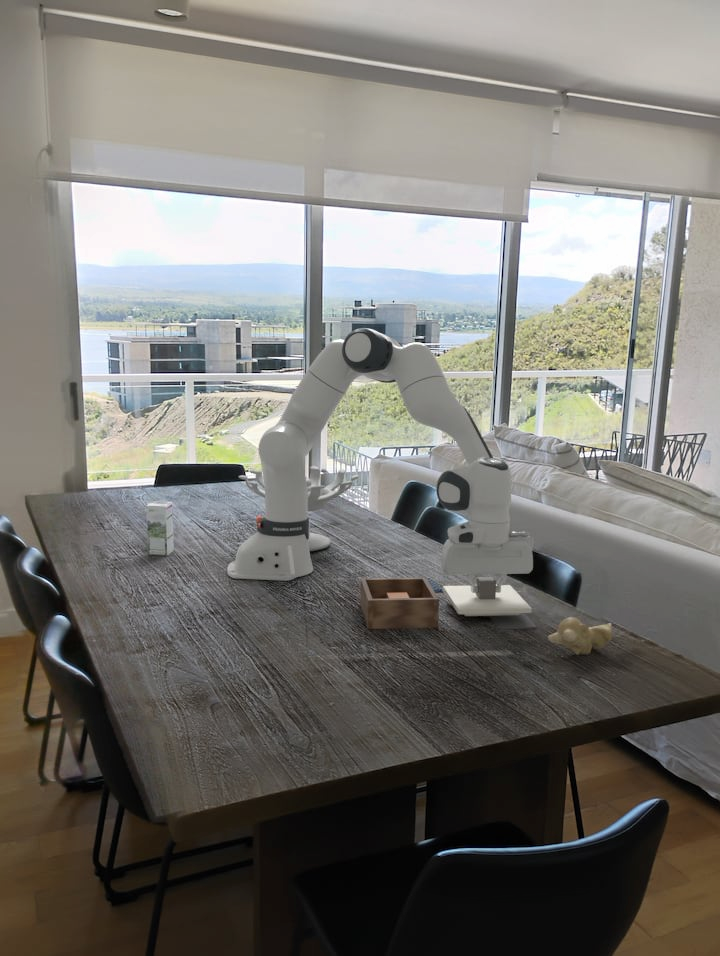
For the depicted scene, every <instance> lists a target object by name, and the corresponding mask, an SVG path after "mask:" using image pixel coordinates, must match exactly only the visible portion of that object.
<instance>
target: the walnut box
mask: <svg viewBox="0 0 720 956" xmlns="http://www.w3.org/2000/svg"><path fill="white" fill-rule="evenodd" d="M427 579H428V578H427V577H382V578H381V577H374V578H372V577H371V578H369V577H367V578H365V577H364V578H360V593H359V595H360V597H359V598H360V602H359V605H360V609H361V611H362V614H363V618H364V622H365V625H366V628H367V630H379V629H380V630H382V629H383V630H385V629H389V630H390V629H425V628H426V629H427V628H428V629H430V628H433V629H434V628H436V629H437V628H439V612H440V611H439V608H440V598H439V596H438V595H437V593H436V592H434V590H433V588H432V587H431V585H430V583H429V582H428V580H427ZM404 592H407V594H408V596H409V598H390V599H387V593H404Z"/></svg>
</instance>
